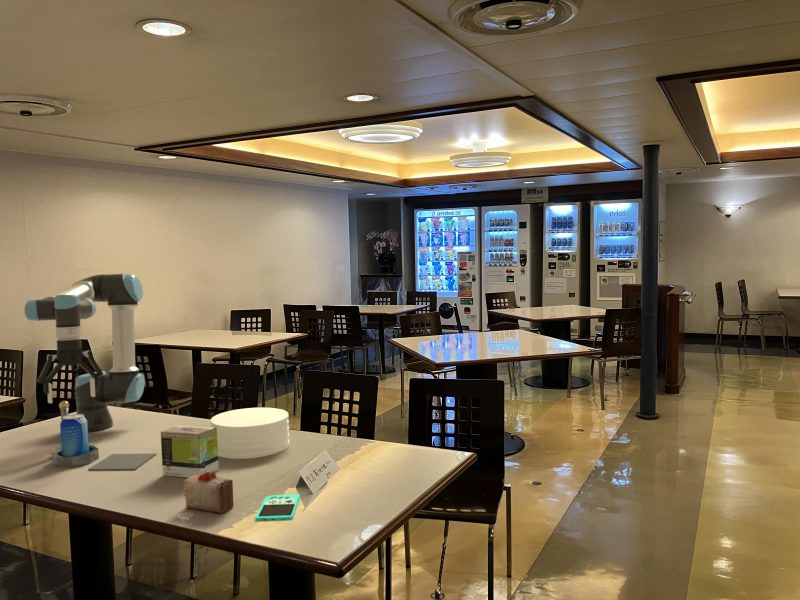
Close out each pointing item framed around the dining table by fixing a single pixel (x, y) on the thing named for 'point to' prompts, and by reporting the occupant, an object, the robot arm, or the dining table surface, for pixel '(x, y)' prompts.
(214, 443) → the tea box
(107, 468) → the rubber mat
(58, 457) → the ring stand
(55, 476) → the dining table surface
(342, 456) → the dining table surface
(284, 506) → the handheld game console
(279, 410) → the plate stack
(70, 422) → the beer can
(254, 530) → the dining table surface
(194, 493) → the food item
